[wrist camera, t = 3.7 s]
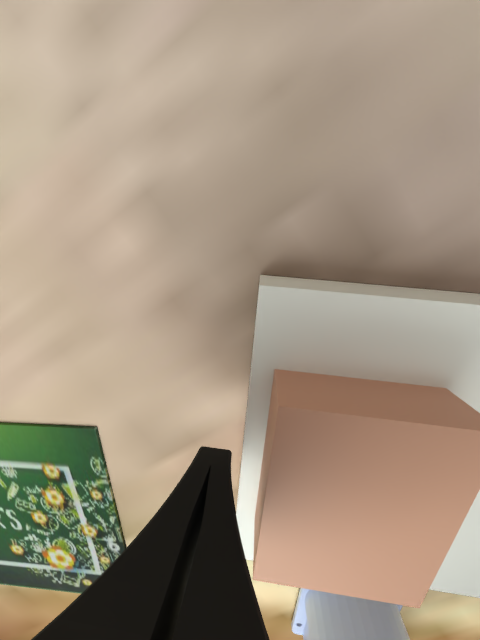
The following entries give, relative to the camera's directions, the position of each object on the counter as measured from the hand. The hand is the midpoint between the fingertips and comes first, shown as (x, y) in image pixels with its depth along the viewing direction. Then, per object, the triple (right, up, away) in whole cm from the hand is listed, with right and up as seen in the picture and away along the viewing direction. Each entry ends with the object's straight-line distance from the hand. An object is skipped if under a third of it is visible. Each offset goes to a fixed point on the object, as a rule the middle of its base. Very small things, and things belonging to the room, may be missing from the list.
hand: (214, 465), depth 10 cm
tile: (+6, -1, -1) cm, 6 cm away
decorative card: (-25, -11, +12) cm, 30 cm away
